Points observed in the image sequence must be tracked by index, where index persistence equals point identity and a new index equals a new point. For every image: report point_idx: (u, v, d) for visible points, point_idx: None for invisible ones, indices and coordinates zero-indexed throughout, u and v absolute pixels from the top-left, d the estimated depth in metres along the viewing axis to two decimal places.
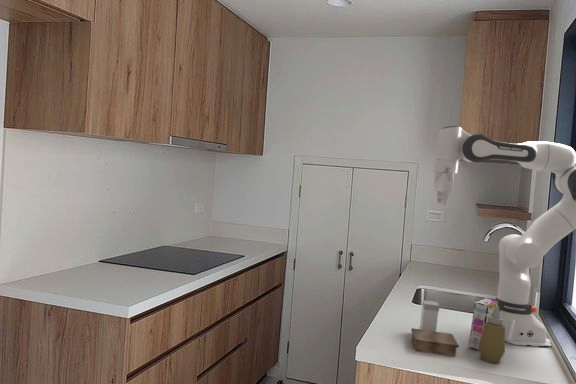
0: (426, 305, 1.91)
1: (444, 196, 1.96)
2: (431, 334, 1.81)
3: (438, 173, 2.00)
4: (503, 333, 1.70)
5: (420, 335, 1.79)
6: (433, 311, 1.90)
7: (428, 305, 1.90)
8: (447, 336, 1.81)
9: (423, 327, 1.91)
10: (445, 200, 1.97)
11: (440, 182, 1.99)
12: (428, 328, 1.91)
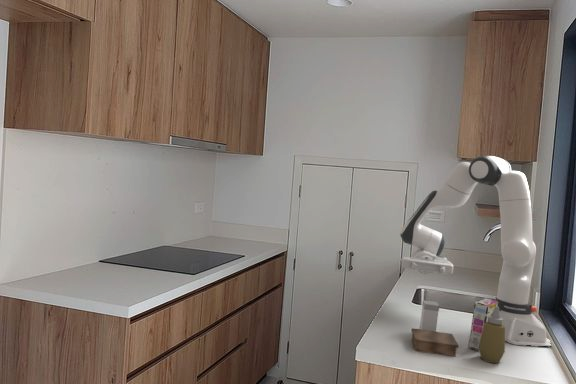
0: (426, 305, 1.90)
1: (412, 266, 2.08)
2: (431, 334, 1.81)
3: (420, 269, 2.16)
4: (503, 333, 1.70)
5: (420, 335, 1.79)
6: (433, 311, 1.90)
7: (428, 305, 1.90)
8: (447, 336, 1.81)
9: (423, 327, 1.91)
10: (414, 265, 2.06)
11: None
12: (428, 328, 1.91)
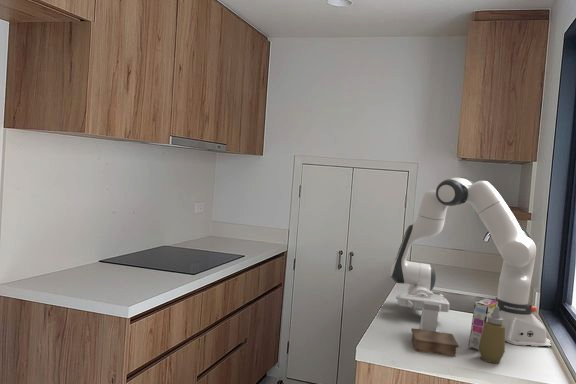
0: (426, 305, 1.90)
1: (407, 304, 2.08)
2: (431, 334, 1.81)
3: None
4: (503, 333, 1.70)
5: (420, 335, 1.79)
6: (433, 311, 1.90)
7: (428, 305, 1.90)
8: (447, 336, 1.81)
9: (423, 327, 1.91)
10: (410, 304, 2.07)
11: None
12: (428, 328, 1.91)
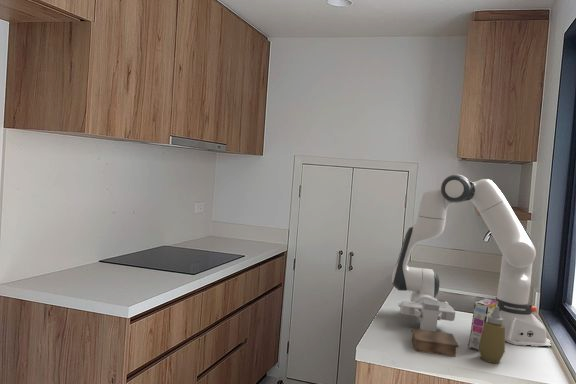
0: (426, 305, 1.91)
1: (415, 313, 1.96)
2: (431, 334, 1.81)
3: None
4: (503, 333, 1.70)
5: (420, 335, 1.79)
6: (433, 311, 1.90)
7: (428, 305, 1.90)
8: (447, 336, 1.81)
9: (423, 327, 1.91)
10: (418, 312, 1.94)
11: None
12: (428, 328, 1.91)
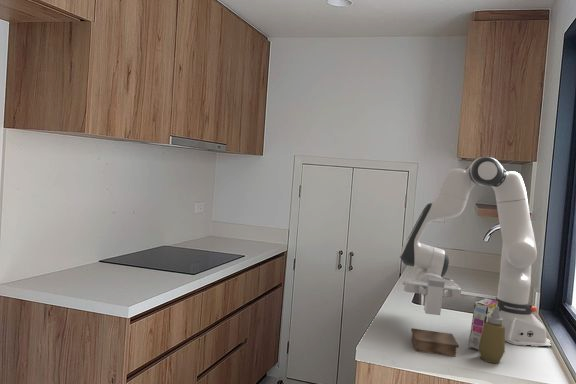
0: (431, 281, 1.85)
1: (419, 290, 1.90)
2: (431, 334, 1.81)
3: None
4: (503, 333, 1.70)
5: (420, 335, 1.79)
6: (438, 288, 1.85)
7: (433, 281, 1.85)
8: (447, 336, 1.81)
9: (428, 304, 1.85)
10: (422, 290, 1.89)
11: None
12: (433, 305, 1.85)
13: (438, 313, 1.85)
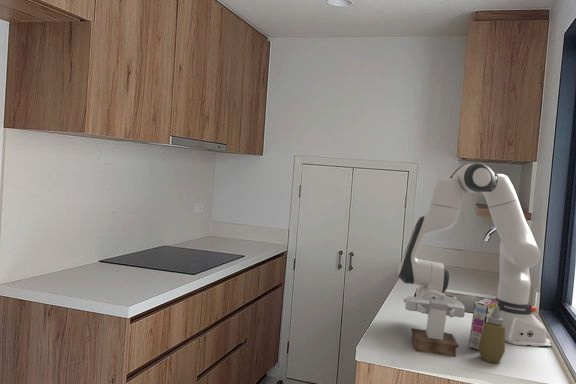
0: (433, 304, 1.76)
1: (417, 308, 1.82)
2: None
3: None
4: (503, 333, 1.70)
5: (420, 335, 1.79)
6: (441, 311, 1.76)
7: (436, 304, 1.76)
8: (447, 336, 1.81)
9: (430, 328, 1.77)
10: (420, 308, 1.80)
11: None
12: (435, 329, 1.77)
13: (441, 337, 1.77)
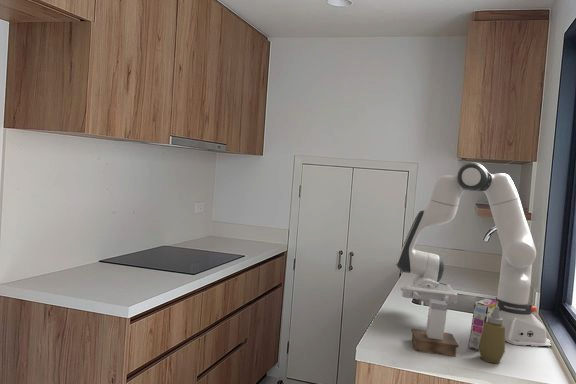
0: (433, 304, 1.76)
1: (413, 295, 1.96)
2: None
3: None
4: (503, 333, 1.70)
5: (420, 335, 1.79)
6: (441, 311, 1.76)
7: (436, 304, 1.76)
8: (447, 336, 1.81)
9: (430, 328, 1.77)
10: (416, 295, 1.94)
11: None
12: (435, 329, 1.77)
13: (441, 337, 1.77)
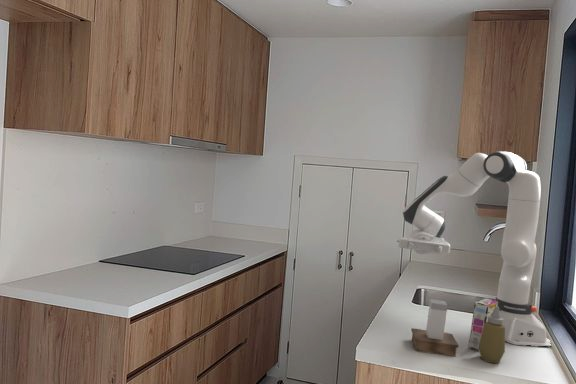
0: (433, 304, 1.76)
1: (408, 245, 2.09)
2: None
3: (417, 249, 2.17)
4: (503, 333, 1.70)
5: (420, 335, 1.79)
6: (441, 311, 1.76)
7: (436, 304, 1.76)
8: (447, 336, 1.81)
9: (430, 328, 1.77)
10: (411, 244, 2.07)
11: None
12: (435, 329, 1.77)
13: (441, 337, 1.77)
